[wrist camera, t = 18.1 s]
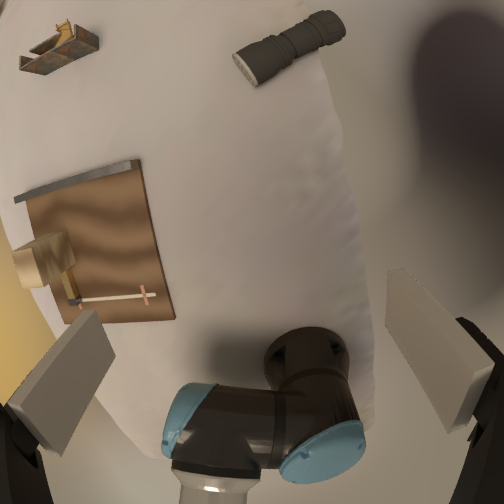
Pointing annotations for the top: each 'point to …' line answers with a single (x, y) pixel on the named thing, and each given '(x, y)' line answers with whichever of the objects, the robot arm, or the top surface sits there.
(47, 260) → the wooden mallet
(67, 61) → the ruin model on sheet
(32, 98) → the top surface
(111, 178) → the board
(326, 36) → the flashlight
